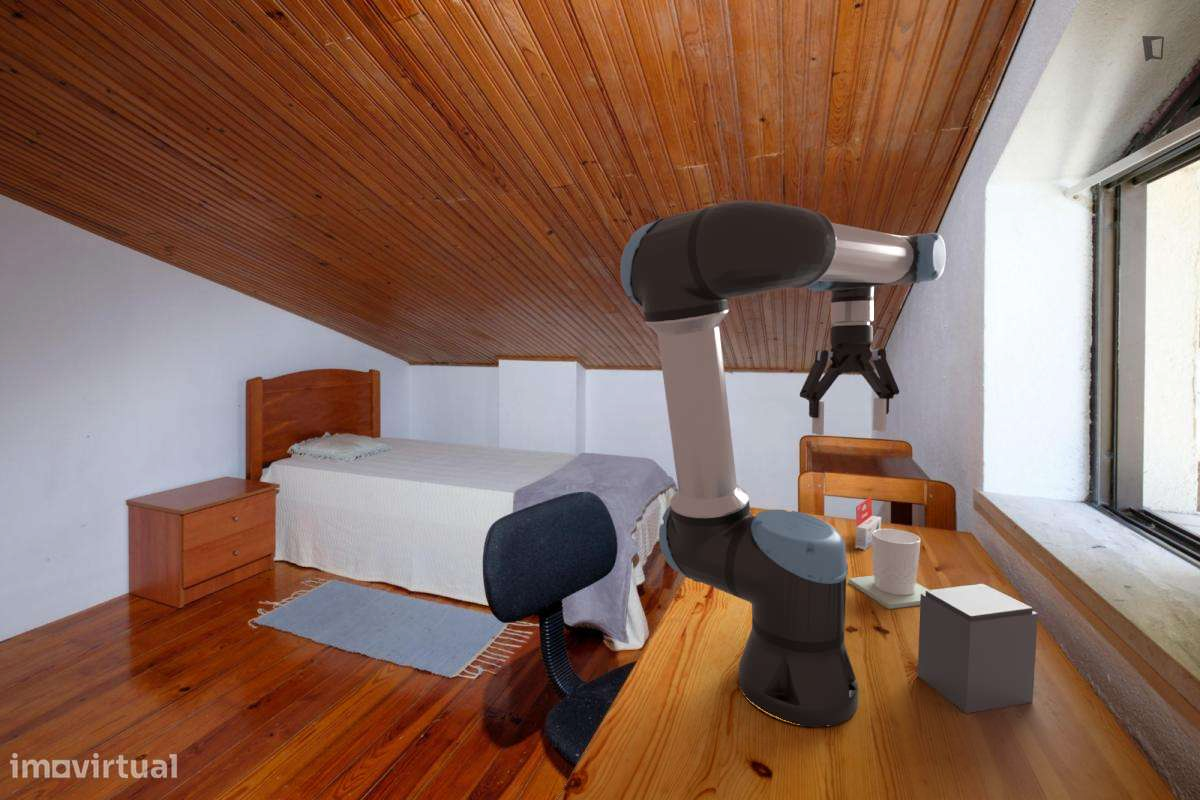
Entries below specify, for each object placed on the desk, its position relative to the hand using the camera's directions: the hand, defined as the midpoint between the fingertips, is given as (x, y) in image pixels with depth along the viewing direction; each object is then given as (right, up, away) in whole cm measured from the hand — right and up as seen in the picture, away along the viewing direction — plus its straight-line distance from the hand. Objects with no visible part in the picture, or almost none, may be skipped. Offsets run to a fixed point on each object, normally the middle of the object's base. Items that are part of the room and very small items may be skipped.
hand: (848, 432), depth 107 cm
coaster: (+6, -29, -6) cm, 31 cm away
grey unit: (+1, -32, -35) cm, 47 cm away
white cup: (+6, -29, -6) cm, 30 cm away
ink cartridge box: (+13, -27, +18) cm, 35 cm away
